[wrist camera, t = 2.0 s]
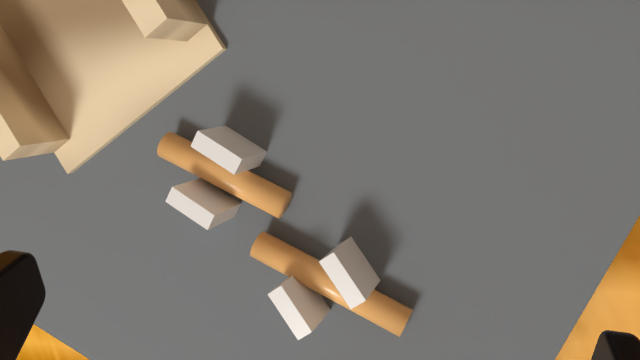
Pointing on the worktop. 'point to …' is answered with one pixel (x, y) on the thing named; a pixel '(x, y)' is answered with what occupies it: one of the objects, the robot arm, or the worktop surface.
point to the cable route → (302, 269)
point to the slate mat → (359, 183)
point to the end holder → (92, 70)
